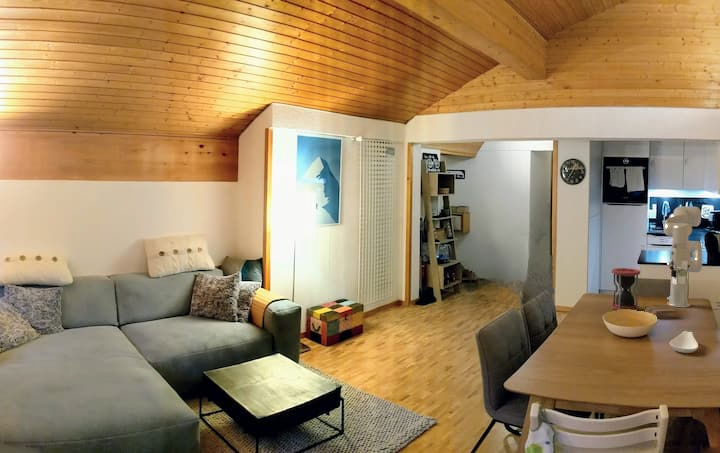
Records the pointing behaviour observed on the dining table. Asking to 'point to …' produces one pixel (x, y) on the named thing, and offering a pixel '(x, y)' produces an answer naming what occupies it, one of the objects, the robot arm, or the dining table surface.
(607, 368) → the dining table surface
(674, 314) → the walnut block
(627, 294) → the hourglass
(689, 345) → the spoon rest
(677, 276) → the syrup box
